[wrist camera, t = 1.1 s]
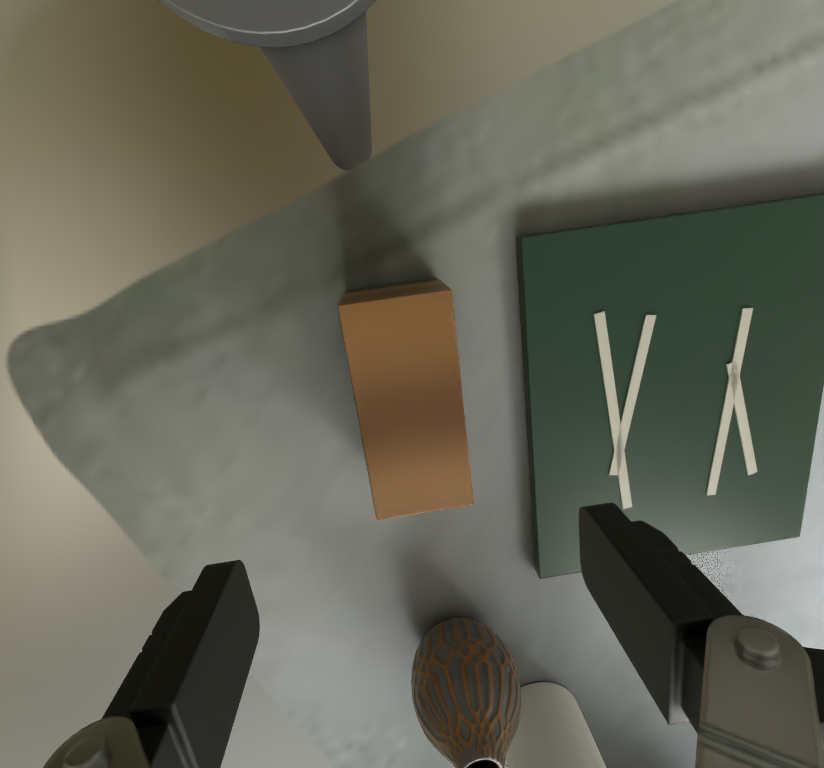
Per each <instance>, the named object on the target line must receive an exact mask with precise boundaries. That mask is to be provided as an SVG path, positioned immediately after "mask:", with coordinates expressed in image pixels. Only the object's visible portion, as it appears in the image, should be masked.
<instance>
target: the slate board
mask: <svg viewBox="0 0 824 768" xmlns="http://www.w3.org/2000/svg"><path fill="white" fill-rule="evenodd" d="M516 247H517V264H518V281H519V299H520V316H521V333H522V350H523V368H524V385H525V402H526V419H527V437H528V454H529V471H530V488H531V506H532V523H533V540H534V557H535V570H536V572H537V574H538V576H539V578H540V579H542V578H548V577H554V576H560V575H566V574H573V573H579V572H582V571H581V565H580V546H579V509H580V508H581V507H585V506H591V505H597V504H604V503H610V502H613V503H615V504H616V505H617V506H618V507H619V508H620V509H621V511H622V512H623V513H624V514H625V515H626V516H627V517H628V518H629V520H630V521H631V522H633V521H639V520H642V521H644V522H646V523H647V524H649V525H651V526H653V527H655V528H656V529H658V530H660V531H662V532H663V533H664V534H665V535H666V536H667V537H668V538H669V539H670V540H671V541H672V542H673V543H674V544H675V545H676V546H677V547H678V549H679V551H682V552H683V553H684V554H685V555H690V554H696V553H702V552H708V551H714V550H721V549H727V548H733V547H739V546H745V545H751V544H758V543H764V542H770V541H776V540H782V539H788V538H795V537H799V536H800V531H801V525H802V518H803V512H804V506H805V500H806V493H807V487H808V481H809V474H810V468H811V462H812V455H813V449H814V443H815V436H816V430H817V424H818V418H819V411H820V405H821V399H822V392H823V386H824V193H822V194H814V195H807V196H800V197H793V198H786V199H779V200H772V201H765V202H758V203H751V204H744V205H736V206H729V207H722V208H715V209H708V210H701V211H694V212H687V213H680V214H673V215H666V216H658V217H651V218H644V219H637V220H630V221H623V222H616V223H609V224H602V225H595V226H587V227H580V228H573V229H566V230H559V231H552V232H545V233H538V234H531V235H524V236H517V237H516Z"/></svg>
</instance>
